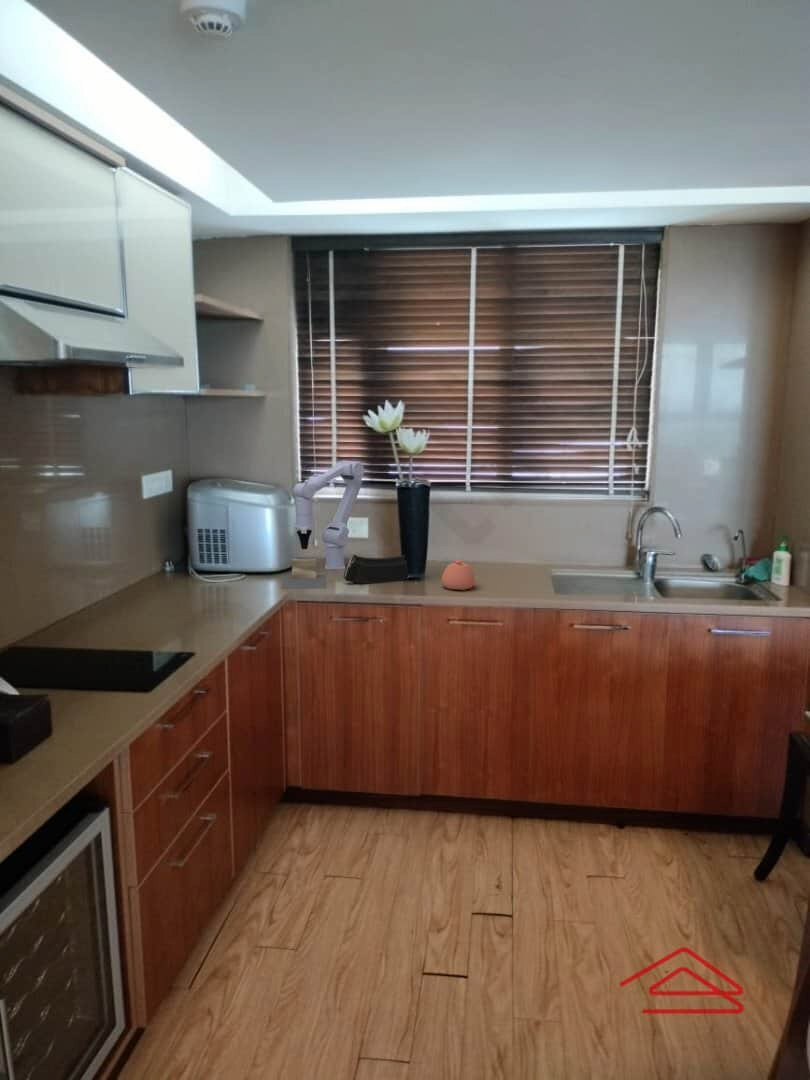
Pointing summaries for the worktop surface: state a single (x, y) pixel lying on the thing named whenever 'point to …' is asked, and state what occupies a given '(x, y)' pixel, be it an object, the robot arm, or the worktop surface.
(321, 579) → the mat
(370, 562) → the magazine
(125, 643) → the worktop surface
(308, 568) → the tile
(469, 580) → the sugar bowl
